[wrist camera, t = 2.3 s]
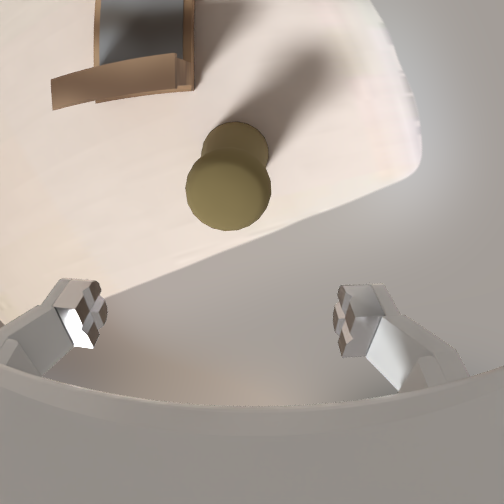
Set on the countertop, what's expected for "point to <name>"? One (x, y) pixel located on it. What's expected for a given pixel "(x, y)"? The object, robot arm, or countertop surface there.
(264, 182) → the olive green bulbous cylinder
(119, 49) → the holder
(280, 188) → the countertop surface
